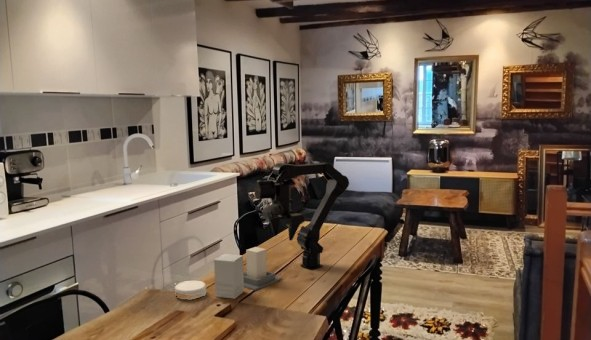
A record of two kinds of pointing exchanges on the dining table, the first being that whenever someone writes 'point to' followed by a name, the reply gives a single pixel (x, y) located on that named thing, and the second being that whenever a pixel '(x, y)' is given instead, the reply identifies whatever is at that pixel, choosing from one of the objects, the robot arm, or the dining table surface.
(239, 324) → the dining table surface
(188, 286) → the white round disc
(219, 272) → the supplement box
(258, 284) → the tray
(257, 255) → the cream block
